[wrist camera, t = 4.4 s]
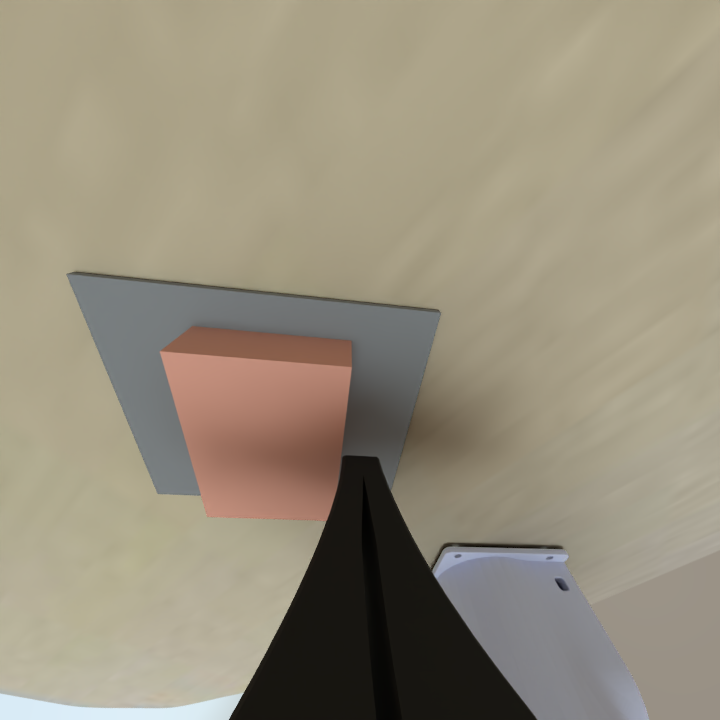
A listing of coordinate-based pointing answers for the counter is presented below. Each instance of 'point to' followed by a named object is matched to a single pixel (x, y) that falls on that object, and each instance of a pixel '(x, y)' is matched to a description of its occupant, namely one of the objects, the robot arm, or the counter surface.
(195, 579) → the counter surface
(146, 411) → the mat
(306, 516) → the block
